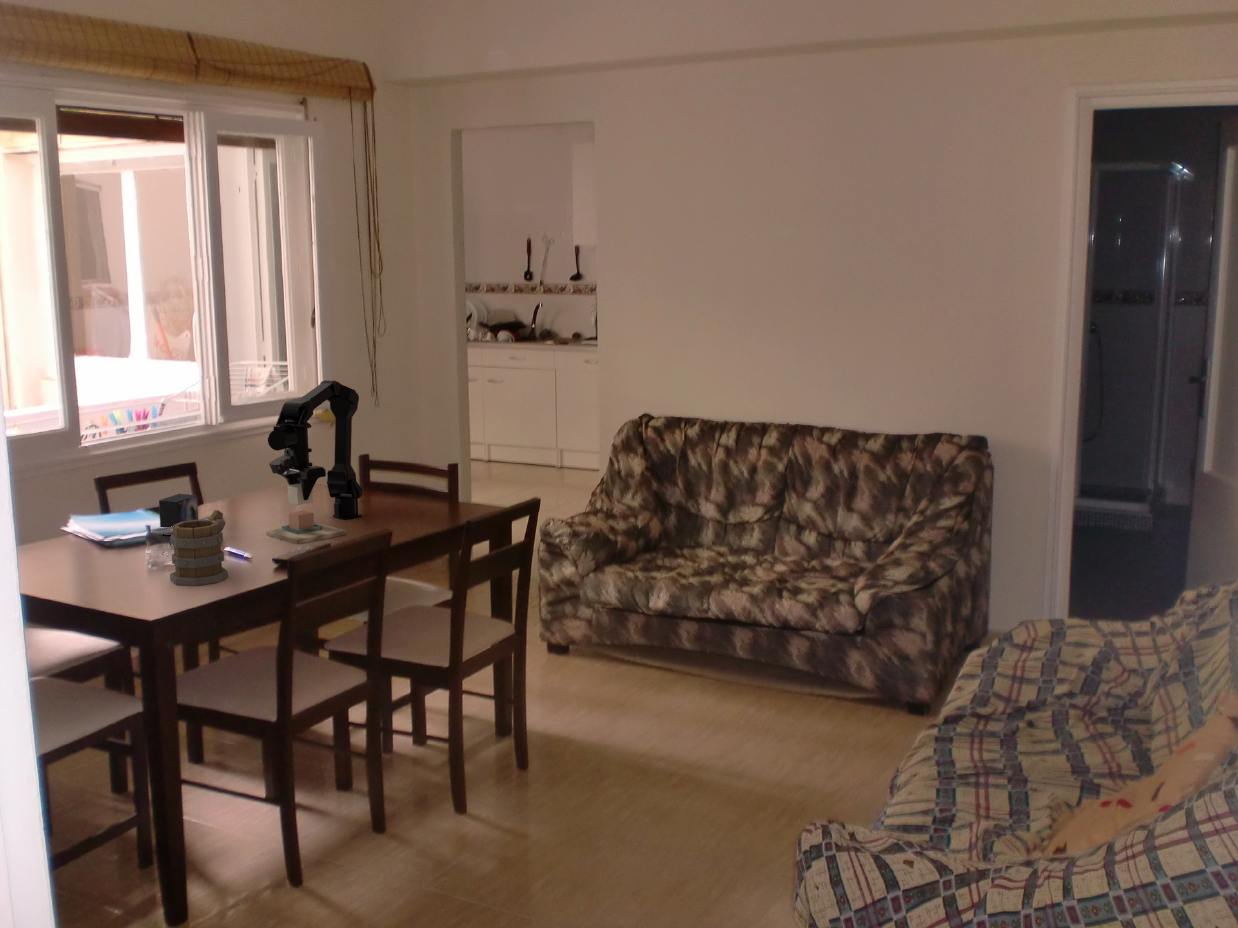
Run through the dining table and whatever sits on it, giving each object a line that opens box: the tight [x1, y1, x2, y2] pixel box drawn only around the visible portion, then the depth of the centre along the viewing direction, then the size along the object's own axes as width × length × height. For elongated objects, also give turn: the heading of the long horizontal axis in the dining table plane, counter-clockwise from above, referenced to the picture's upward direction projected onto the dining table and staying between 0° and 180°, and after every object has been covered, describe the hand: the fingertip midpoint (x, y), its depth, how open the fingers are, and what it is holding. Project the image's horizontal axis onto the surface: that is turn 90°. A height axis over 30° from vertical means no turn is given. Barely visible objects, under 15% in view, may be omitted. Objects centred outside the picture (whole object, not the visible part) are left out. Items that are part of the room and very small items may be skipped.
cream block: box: [286, 483, 314, 506], centre depth 332 cm, size 5×5×5 cm
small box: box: [158, 493, 199, 528], centre depth 335 cm, size 11×6×10 cm, turn 168°
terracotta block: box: [288, 510, 315, 530], centre depth 333 cm, size 5×5×5 cm
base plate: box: [265, 521, 347, 545], centre depth 332 cm, size 16×16×2 cm
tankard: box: [169, 509, 229, 587], centre depth 288 cm, size 20×13×15 cm, turn 171°
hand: (300, 498), depth 332 cm, fingers closed on cream block, 5 cm apart
